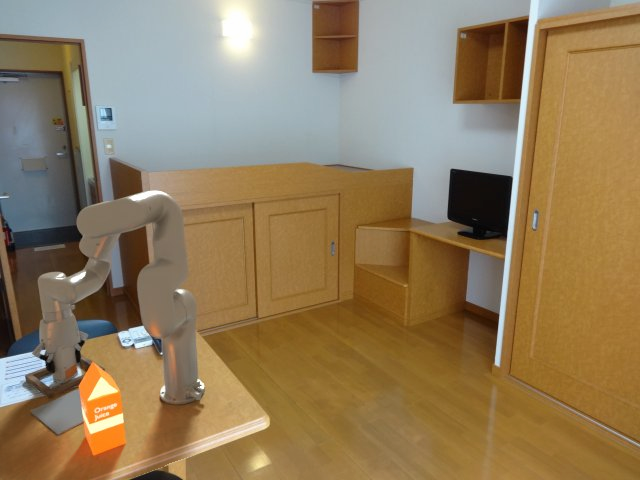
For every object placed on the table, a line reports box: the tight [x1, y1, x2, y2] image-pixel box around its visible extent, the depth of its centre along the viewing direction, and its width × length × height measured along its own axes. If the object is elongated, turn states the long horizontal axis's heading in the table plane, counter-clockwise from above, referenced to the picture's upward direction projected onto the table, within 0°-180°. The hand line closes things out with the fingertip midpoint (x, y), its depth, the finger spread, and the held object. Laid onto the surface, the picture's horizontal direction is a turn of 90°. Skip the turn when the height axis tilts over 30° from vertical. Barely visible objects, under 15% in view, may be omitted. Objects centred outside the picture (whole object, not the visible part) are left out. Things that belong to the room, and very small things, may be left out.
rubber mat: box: [29, 388, 84, 436], centre depth 131 cm, size 16×15×1 cm
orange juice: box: [78, 361, 127, 456], centre depth 117 cm, size 8×9×20 cm
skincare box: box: [51, 345, 79, 384], centre depth 146 cm, size 6×4×12 cm
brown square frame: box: [24, 353, 106, 399], centre depth 147 cm, size 15×17×2 cm
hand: (64, 366), depth 146 cm, fingers closed on skincare box, 7 cm apart
